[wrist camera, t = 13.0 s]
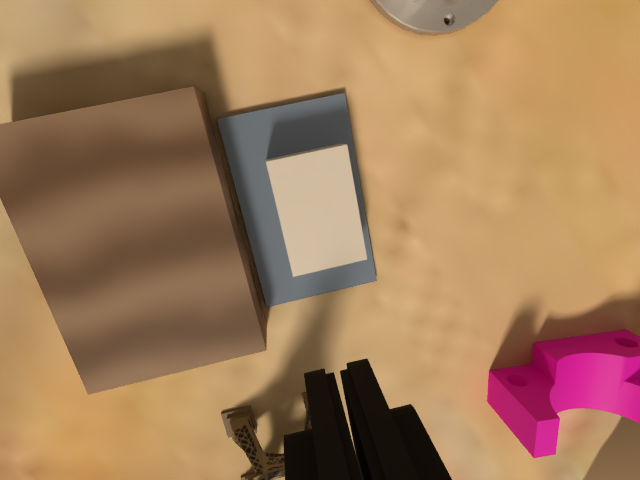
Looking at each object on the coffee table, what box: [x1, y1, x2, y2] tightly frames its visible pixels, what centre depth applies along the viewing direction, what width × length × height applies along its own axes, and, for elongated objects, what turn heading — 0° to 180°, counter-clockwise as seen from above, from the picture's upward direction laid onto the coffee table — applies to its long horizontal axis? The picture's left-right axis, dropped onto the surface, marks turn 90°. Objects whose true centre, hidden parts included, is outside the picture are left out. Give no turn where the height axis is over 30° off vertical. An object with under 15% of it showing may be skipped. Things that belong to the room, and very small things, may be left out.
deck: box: [0, 86, 267, 395], centre depth 29 cm, size 20×14×4 cm
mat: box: [217, 93, 377, 307], centre depth 31 cm, size 16×10×1 cm, turn 11°
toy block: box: [487, 330, 640, 458], centre depth 36 cm, size 15×6×8 cm, turn 94°
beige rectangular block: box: [266, 144, 367, 277], centre depth 30 cm, size 9×6×3 cm, turn 12°
